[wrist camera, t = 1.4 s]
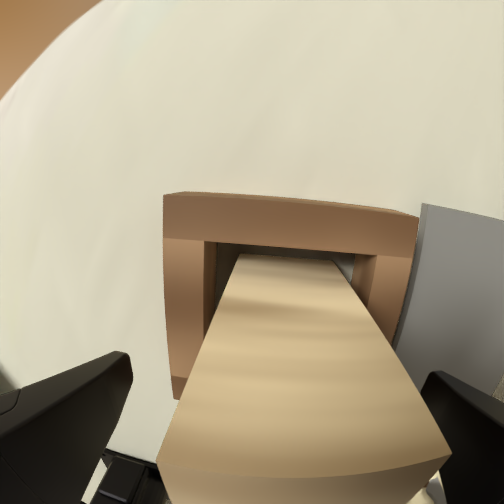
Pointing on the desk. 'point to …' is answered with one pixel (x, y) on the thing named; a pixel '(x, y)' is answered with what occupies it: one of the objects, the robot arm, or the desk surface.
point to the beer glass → (430, 492)
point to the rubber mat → (455, 300)
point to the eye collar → (278, 235)
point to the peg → (297, 399)
